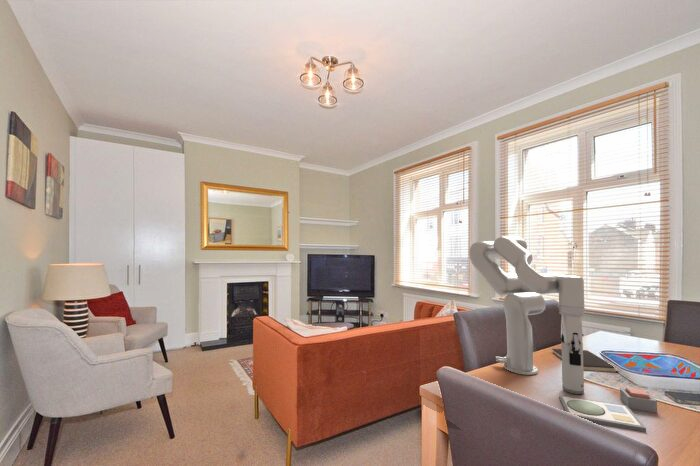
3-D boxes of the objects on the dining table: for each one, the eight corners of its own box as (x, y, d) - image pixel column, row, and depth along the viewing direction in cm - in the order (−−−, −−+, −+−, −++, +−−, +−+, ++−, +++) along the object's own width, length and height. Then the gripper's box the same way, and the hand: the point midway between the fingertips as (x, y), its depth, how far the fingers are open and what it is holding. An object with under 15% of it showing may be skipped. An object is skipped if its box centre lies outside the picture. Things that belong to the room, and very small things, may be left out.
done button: (631, 399, 102) (631, 392, 102) (626, 393, 106) (626, 387, 106) (649, 401, 100) (649, 395, 101) (643, 395, 104) (643, 389, 105)
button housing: (628, 408, 101) (627, 396, 102) (620, 398, 108) (619, 388, 108) (657, 412, 99) (656, 401, 99) (647, 402, 105) (646, 391, 105)
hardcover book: (574, 370, 134) (574, 365, 134) (552, 353, 157) (551, 348, 157) (618, 373, 131) (618, 367, 131) (589, 355, 154) (588, 350, 154)
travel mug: (588, 395, 110) (587, 336, 111) (567, 393, 112) (565, 334, 112) (579, 387, 116) (578, 331, 117) (559, 385, 118) (558, 330, 118)
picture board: (568, 418, 96) (567, 413, 96) (559, 398, 109) (559, 394, 109) (646, 431, 88) (645, 427, 88) (626, 408, 101) (626, 404, 101)
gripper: (555, 305, 124) (556, 352, 124) (563, 314, 109) (565, 368, 108) (578, 307, 121) (579, 355, 121) (591, 316, 106) (592, 372, 105)
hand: (572, 361), depth 114 cm, fingers closed on travel mug, 6 cm apart
